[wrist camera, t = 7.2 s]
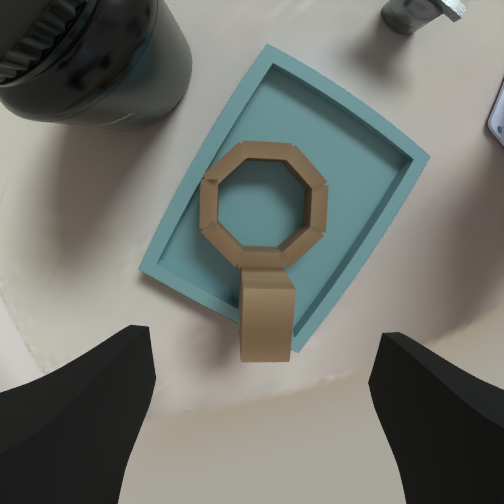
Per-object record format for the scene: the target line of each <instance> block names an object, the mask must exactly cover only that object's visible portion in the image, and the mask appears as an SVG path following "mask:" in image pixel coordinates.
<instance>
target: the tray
mask: <svg viewBox="0 0 504 504" xmlns="http://www.w3.org/2000/svg"><path fill="white" fill-rule="evenodd" d="M242 141H264V142H280V143H292V147H293V146H295V145H296V146H297V147H298V148H299V149H300V151H301V152H302V153H303V154H304V155H305V156H306V157H307V158H308V160H309V161H310V162H311V163H312V164H313V165H314V166H315V168H316V169H317V170H318V171H319V172H320V173H321V175H322V176H323V177H324V178H325V179H326V180H327V183H326V184H324V185H329V189H328V207H327V222H326V233H322V234H323V235H324V237H323V238H321V239H320V240H319V241H318V242H317V243H316V244H315V245H314V246H313V247H312V248H311V249H310V250H308V251H307V252H306V253H305V254H304V255H303V256H302V257H301V258H300V259H299V260H297V261H296V262H295V263H294V264H293V265H292V266H291V267H290V268H289V267H288V266H287V265H286V269H284V270H285V272H286V273H287V275H288V277H289V278H290V280H291V282H292V283H293V285H294V287H295V288H296V298H295V309H294V320H293V331H292V341H291V350H293V351H295V352H298V353H299V351H300V350H301V349H302V348H303V346H304V345H305V344H306V343H307V341H308V340H309V339H310V337H311V336H312V335H313V334H314V332H315V331H316V330H317V328H318V327H319V326H320V324H321V323H322V322H323V321H324V319H325V318H326V317H327V315H328V314H329V313H330V311H331V310H332V309H333V307H334V306H335V304H336V303H337V302H338V300H339V299H340V298H341V296H342V295H343V293H344V292H345V291H346V289H347V288H348V287H349V285H350V284H351V282H352V281H353V279H354V278H355V277H356V275H357V274H358V272H359V271H360V269H361V268H362V266H363V265H364V264H365V262H366V261H367V259H368V258H369V256H370V255H371V253H372V252H373V250H374V249H375V247H376V246H377V244H378V243H379V241H380V240H381V238H382V237H383V235H384V233H385V232H386V230H387V229H388V227H389V226H390V224H391V223H392V221H393V219H394V218H395V216H396V215H397V213H398V211H399V210H400V208H401V206H402V205H403V203H404V202H405V200H406V198H407V197H408V195H409V193H410V192H411V190H412V188H413V186H414V185H415V183H416V181H417V180H418V178H419V176H420V174H421V173H422V171H423V169H424V167H425V166H426V164H427V162H428V160H429V158H430V156H429V155H428V154H427V153H426V152H425V151H424V150H423V149H421V148H420V147H419V146H418V145H417V144H416V143H414V142H413V141H412V140H411V139H410V138H409V137H407V136H406V135H405V134H404V133H402V132H401V131H400V130H399V129H398V128H396V127H395V126H394V125H393V124H391V123H390V122H389V121H387V120H386V119H385V118H384V117H382V116H381V115H380V114H378V113H377V112H376V111H374V110H373V109H372V108H370V107H369V106H368V105H366V104H365V103H363V102H362V101H361V100H359V99H358V98H356V97H355V96H353V95H352V94H351V93H349V92H348V91H346V90H345V89H343V88H342V87H340V86H339V85H337V84H336V83H334V82H333V81H331V80H330V79H328V78H326V77H325V76H323V75H322V74H320V73H318V72H317V71H315V70H314V69H312V68H310V67H309V66H307V65H305V64H303V63H302V62H300V61H298V60H297V59H295V58H293V57H291V56H290V55H288V54H286V53H284V52H282V51H281V50H279V49H277V48H275V47H273V46H271V45H269V44H266V46H265V47H264V49H263V50H262V51H261V53H260V54H259V56H258V57H257V59H256V60H255V62H254V63H253V65H252V66H251V67H250V69H249V70H248V72H247V73H246V75H245V77H244V78H243V80H242V81H241V83H240V84H239V86H238V87H237V89H236V90H235V92H234V93H233V95H232V97H231V98H230V100H229V101H228V103H227V105H226V106H225V108H224V109H223V111H222V113H221V114H220V116H219V118H218V119H217V121H216V123H215V124H214V126H213V128H212V129H211V131H210V133H209V134H208V136H207V138H206V139H205V141H204V143H203V145H202V146H201V148H200V150H199V151H198V153H197V155H196V157H195V159H194V160H193V162H192V164H191V166H190V167H189V169H188V171H187V173H186V175H185V177H184V178H183V180H182V182H181V184H180V186H179V188H178V190H177V191H176V193H175V195H174V197H173V199H172V201H171V203H170V205H169V207H168V209H167V211H166V213H165V214H164V216H163V218H162V220H161V222H160V224H159V226H158V228H157V230H156V232H155V234H154V237H153V239H152V241H151V243H150V245H149V247H148V249H147V251H146V253H145V255H144V257H143V260H142V262H141V264H140V266H139V268H138V269H139V270H141V271H143V272H144V273H146V274H148V275H149V276H151V277H153V278H155V279H156V280H158V281H160V282H162V283H164V284H165V285H167V286H169V287H171V288H172V289H174V290H176V291H178V292H180V293H181V294H183V295H185V296H187V297H189V298H191V299H192V300H194V301H196V302H198V303H200V304H202V305H204V306H206V307H207V308H209V309H211V310H213V311H215V312H217V313H219V314H221V315H223V316H225V317H226V318H228V319H230V320H232V321H234V322H236V323H238V324H239V284H240V268H238V264H237V265H236V266H235V267H234V266H233V265H232V264H231V263H230V262H229V261H228V260H227V259H226V257H225V256H224V255H223V254H222V253H221V252H220V251H219V250H218V249H217V248H216V247H215V246H214V245H213V244H212V243H211V242H210V241H209V240H208V239H207V238H206V237H205V236H204V235H203V234H202V233H201V231H202V229H200V228H199V224H200V185H201V179H205V178H204V177H203V176H202V175H203V174H204V173H205V172H207V171H208V170H209V169H210V168H211V167H212V166H213V165H214V164H215V163H216V162H217V161H218V160H219V159H221V158H222V157H223V156H224V155H225V154H226V153H227V152H228V151H229V150H230V149H232V148H233V147H234V146H235V145H236V144H237V143H238V142H240V143H241V144H242ZM304 196H305V188H304V187H303V186H302V185H301V184H300V182H299V181H298V180H297V179H296V178H295V177H294V176H293V174H292V173H291V172H290V171H289V170H288V169H287V168H286V167H285V166H284V165H283V163H282V162H269V161H249V160H246V161H245V162H243V163H242V164H241V165H240V166H239V167H238V168H237V169H236V170H235V171H234V172H232V173H231V174H230V175H229V176H228V177H227V178H226V179H225V180H224V181H223V182H222V183H221V184H220V185H219V211H218V220H219V221H220V223H221V224H222V225H223V226H224V227H225V228H226V229H227V230H228V231H229V232H230V233H231V234H232V235H233V236H234V237H235V238H236V239H237V240H238V241H239V243H240V244H241V245H242V246H271V247H278V246H279V245H280V244H281V243H282V242H283V241H284V240H285V239H286V238H287V237H288V236H290V235H291V234H292V233H293V232H294V231H295V230H296V229H297V228H298V227H299V226H300V225H302V224H303V214H304Z"/></svg>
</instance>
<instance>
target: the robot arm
mask: <svg viewBox="0 0 504 504" xmlns="http://www.w3.org/2000/svg"><path fill="white" fill-rule="evenodd" d="M488 127H489V129H490V131H491V132H492V133H493V134H494V135H495V137H496V138H497V139H498V140H499V141H500V143H501V144H502V145H503V146H504V82H503V85H502V88H501V90H500V93H499V95H498V98H497V100H496V103H495V105H494V108H493V110H492V113H491V115H490V117H489V120H488ZM497 128H498V129H499V132H498V130H497ZM155 381H156V374H155V368H154V361H153V354H152V347H151V340H150V332H149V327H147V326H137V325H129V326H127V327H126V328H124V329H122V330H121V331H119V332H117V333H116V334H114V335H113V336H111V337H110V338H108V339H107V340H105V341H104V342H102V343H101V344H99V345H97V346H96V347H94V348H93V349H91V350H90V351H88V352H87V353H85V354H83V355H82V356H80V357H78V358H77V359H75V360H73V361H71V362H70V363H68V364H66V365H64V366H63V367H61V368H59V369H57V370H55V371H53V372H51V373H49V374H47V375H45V376H43V377H41V378H39V379H37V380H34V381H32V382H30V383H27V384H24V385H22V386H19V387H16V388H13V389H10V390H7V391H4V392H1V393H0V504H118V499H119V495H120V490H121V486H122V481H123V477H124V472H125V469H126V466H127V462H128V459H129V456H130V454H131V451H132V449H133V446H134V443H135V441H136V439H137V436H138V433H139V431H140V428H141V426H142V423H143V421H144V418H145V416H146V413H147V411H148V408H149V405H150V402H151V398H152V394H153V390H154V386H155ZM368 384H369V388H370V392H371V397H372V400H373V404H374V408H375V410H376V413H377V415H378V418H379V420H380V423H381V425H382V428H383V430H384V432H385V435H386V437H387V440H388V442H389V445H390V447H391V449H392V452H393V455H394V457H395V459H396V462H397V465H398V469H399V472H400V476H401V480H402V484H403V489H404V493H405V499H406V504H504V390H503V389H500V388H498V387H496V386H494V385H491V384H489V383H487V382H484V381H482V380H480V379H478V378H476V377H475V376H473V375H471V374H469V373H467V372H465V371H464V370H462V369H460V368H458V367H457V366H455V365H453V364H452V363H450V362H448V361H447V360H445V359H443V358H442V357H440V356H439V355H437V354H435V353H434V352H432V351H431V350H429V349H427V348H426V347H424V346H423V345H421V344H419V343H418V342H416V341H415V340H413V339H411V338H409V337H408V336H406V335H404V334H402V333H400V332H393V333H382V336H381V340H380V344H379V348H378V351H377V355H376V358H375V362H374V365H373V369H372V372H371V375H370V379H369V382H368Z"/></svg>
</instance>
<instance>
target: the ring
mask: <svg viewBox="0 0 504 504" xmlns="http://www.w3.org/2000/svg"><path fill="white" fill-rule="evenodd" d="M246 160H249V161H269V162H282V163H283V165H284V166H285V167H286V168H287V169H288V170H289V171H290V172H291V173H292V174H293V176H294V177H295V178H296V179H297V180H298V181H299V182H300V184H301V185H302V186H303V187H304V188H305V196H304V214H303V224H302V225H300V226H299V227H298V228H297V229H296V230H295V231H294V232H293V233H292V234H291V235H290V236H288V237H287V238H286V239H285V240H284V241H283V242H282V243H281V244H280V245H279V246H278V247H271V246H242V245H241V244H240V243H239V241H238V240H237V239H236V238H235V237H234V236H233V235H232V234H231V233H230V232H229V231H228V230H227V229H226V228H225V227H224V226H223V225H222V224H221V223H220V221H219V220H218V211H219V185H220V184H221V183H222V182H223V181H224V180H225V179H226V178H227V177H228V176H229V175H230V174H231V173H232V172H234V171H235V170H236V169H237V168H238V167H239V166H240V165H241V164H242V163H243V162H245V161H246ZM202 176H203V177H204V178H205V179H201V185H200V224H199V228H200V229H202V231H201V233H202V234H203V235H204V236H205V237H206V238H207V239H208V240H209V241H210V242H211V243H212V244H213V245H214V246H215V247H216V248H217V249H218V250H219V251H220V252H221V253H222V254H223V255H224V256H225V257H226V259H227V260H228V261H229V262H230V263H231V264H232V265H233V266H234V267H235V266H236V265H237V264H238V268H240V284H239V334H240V352H241V362H289V360H290V351H291V341H292V331H293V320H294V309H295V298H296V288H295V287H294V285H293V283H292V282H291V280H290V278H289V277H288V275H287V273H286V272H285V270H284V269H286V265H287V266H288V267H289V268H290V267H291V266H292V265H293V264H294V263H295V262H296V261H297V260H299V259H300V258H301V257H302V256H303V255H304V254H305V253H306V252H307V251H308V250H310V249H311V248H312V247H313V246H314V245H315V244H316V243H317V242H318V241H319V240H320V239H321V238H323V237H324V235H323V234H322V233H326V222H327V207H328V189H329V185H324V184H326V183H327V180H326V179H325V178H324V177H323V176H322V175H321V173H320V172H319V171H318V170H317V169H316V168H315V166H314V165H313V164H312V163H311V162H310V161H309V160H308V158H307V157H306V156H305V155H304V154H303V153H302V152H301V151H300V149H299V148H298V147H297V146H296V145H295V146H293V147H292V143H280V142H264V141H242V144H241V143H240V142H238V143H237V144H236V145H235V146H234V147H233V148H232V149H230V150H229V151H228V152H227V153H226V154H225V155H224V156H223V157H222V158H221V159H219V160H218V161H217V162H216V163H215V164H214V165H213V166H212V167H211V168H210V169H209V170H208V171H207V172H205V173H204V174H203V175H202Z"/></svg>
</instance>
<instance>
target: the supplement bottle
mask: <svg viewBox="0 0 504 504" xmlns="http://www.w3.org/2000/svg"><path fill="white" fill-rule="evenodd" d="M191 72H192V56H191V52H190V48H189V45H188V43H187V41H186V39H185V37H184V35H183V33H182V31H181V29H180V28H179V26H178V24H177V22H176V20H175V19H174V17H173V15H172V13H171V11H170V10H169V8H168V6H167V4H166V3H165V1H164V0H0V102H1V103H2V104H3V105H4V106H5V107H6V108H7V109H8V110H9V111H10V112H12V113H14V114H15V115H17V116H19V117H21V118H24V119H28V120H33V121H40V122H50V123H60V124H70V125H80V126H88V127H96V128H104V129H112V130H133V129H138V128H142V127H145V126H148V125H150V124H152V123H154V122H156V121H158V120H159V119H161V118H162V117H164V116H165V115H166V114H167V113H169V112H170V111H171V110H172V109H173V108H174V107H175V105H176V104H177V103H178V102H179V100H180V99H181V98H182V96H183V94H184V92H185V91H186V89H187V86H188V84H189V81H190V77H191Z"/></svg>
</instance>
